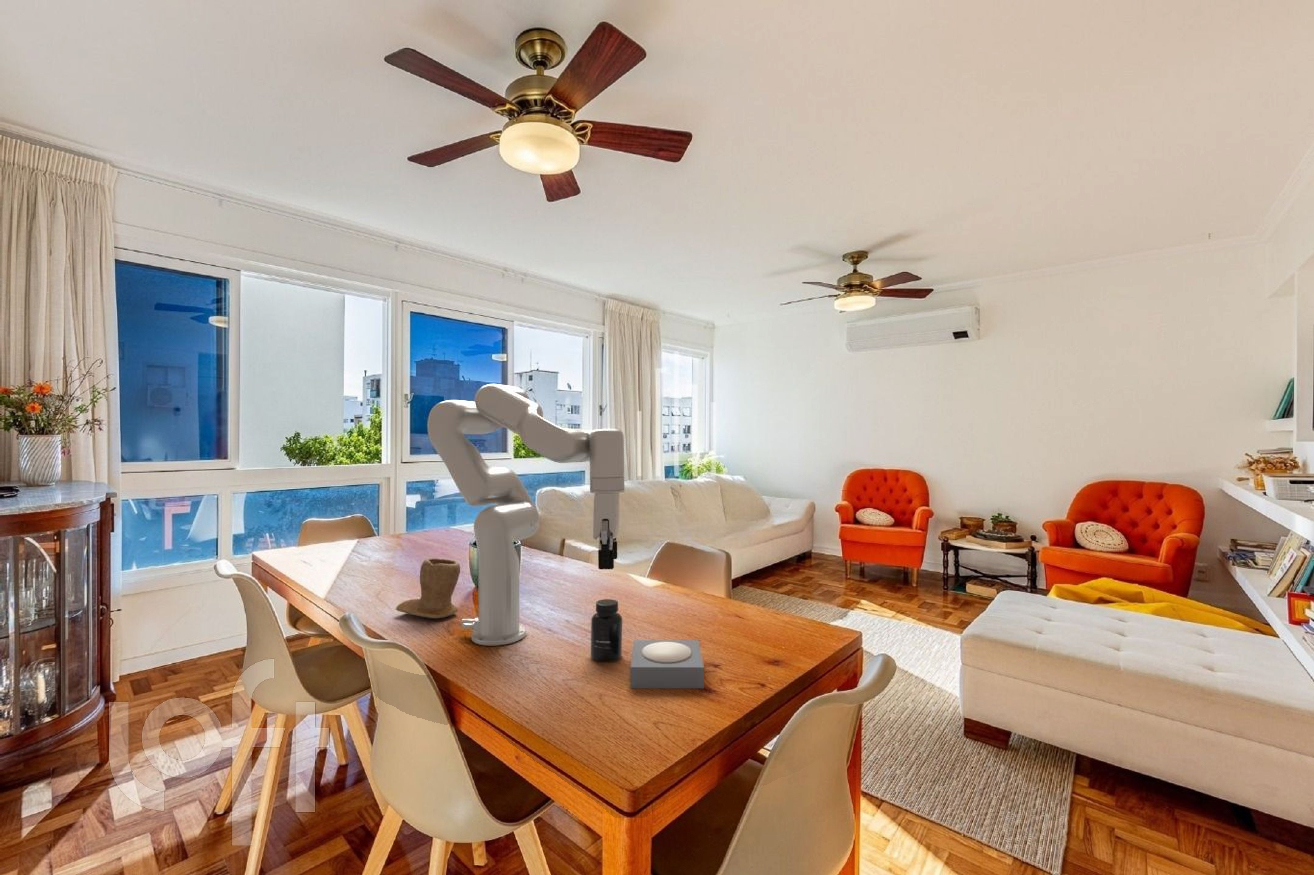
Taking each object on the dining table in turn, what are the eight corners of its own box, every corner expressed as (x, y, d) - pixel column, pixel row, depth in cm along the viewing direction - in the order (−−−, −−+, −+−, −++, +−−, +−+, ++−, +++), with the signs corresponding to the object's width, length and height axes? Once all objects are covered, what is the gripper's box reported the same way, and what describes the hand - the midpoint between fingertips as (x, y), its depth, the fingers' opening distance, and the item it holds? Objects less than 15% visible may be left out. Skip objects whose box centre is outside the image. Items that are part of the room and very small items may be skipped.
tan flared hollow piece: (469, 612, 150) (469, 557, 150) (434, 625, 139) (434, 566, 139) (430, 604, 157) (430, 552, 157) (394, 616, 146) (394, 560, 146)
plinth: (630, 688, 104) (630, 665, 104) (633, 658, 118) (633, 638, 118) (703, 688, 104) (703, 665, 104) (698, 658, 118) (698, 638, 118)
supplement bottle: (597, 665, 114) (597, 608, 114) (586, 654, 120) (586, 599, 120) (627, 659, 118) (627, 603, 118) (614, 648, 124) (614, 595, 124)
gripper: (594, 482, 128) (595, 555, 128) (584, 488, 110) (585, 573, 110) (626, 482, 128) (627, 555, 128) (621, 488, 110) (622, 573, 110)
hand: (608, 563), depth 119 cm, fingers open, 9 cm apart
